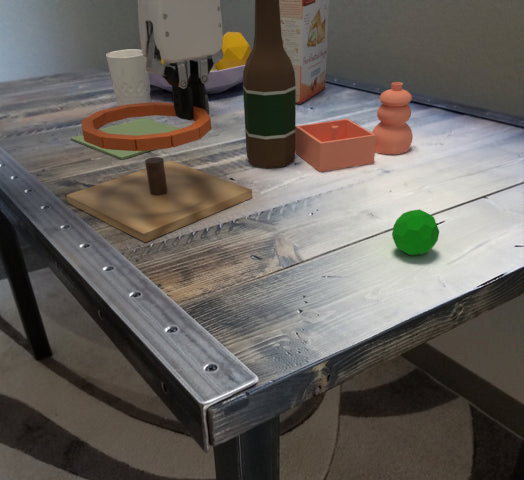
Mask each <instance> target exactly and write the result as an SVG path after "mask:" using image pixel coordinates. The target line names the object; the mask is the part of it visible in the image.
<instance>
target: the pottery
mask: <svg viewBox="0 0 524 480" xmlns="http://www.w3.org/2000/svg"><path fill="white" fill-rule="evenodd" d="M403 84H404V83H403V82H401V81H393V82H391V85H390V86H391V87H390V88H389V89H386V90H385V91H383V92H381V94H380V96H379V101H380V103H381V104H380V106H379V107H378V109H377V112H376V116H377V118H378V120H379V123H377V124H376V125H375V126H374V128H373V129H372V131H370V130H368V129H367V128H365V127H363V126H361V125H359V124H357V123H355V122H354V121H352V120H350V119H349V118H343V119H335V120H328V121H322V122H315V123H308V124H300V125H295V155H297V156H299V158H301V159H303V160H304V161H305V162H306V163H307V164H309V166H311V167H312V168H314V169H315V170H316V171H317V172H318V173H323V172H329V171H335V170H342V169H347V168H354V167H360V166H365V165H372V164H375V155H376V153H377V154H382V155H390V154H394V155H400V154H399V153H402V154H405V153H408V152H409V151H410V148H411V146H412V143H413V139H414V138H413V136H414V135H413V131H412V129H411V126H410V125H409V124H408V123H407V122H408V121H410V119H411V116H412V108H411V106H410V105H409V104H410V103H411V102H412V99H413V98H412V94H411V92H409V91H408V90H406V89H403ZM408 150H409V151H408ZM404 152H405V153H404Z"/></svg>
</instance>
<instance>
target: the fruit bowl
mask: <svg viewBox="0 0 524 480" xmlns="http://www.w3.org/2000/svg"><path fill="white" fill-rule="evenodd" d="M222 51H223V58H222V59H221V60H220V61H219V62H217V63H216V64H215V65H213V67H212V69H211V70H210V72H209V74H208V81H207V83H205V84H204V86H205V87H206V91H205V94H207V95H209V94H210V95H212V94H222V93H223V92H225V91H227V90H230V89H232V88H233V87H235V86H237V85H239V84H241V83H243V71H244V68H245V64H246V60H247V58H248V56H249V55H250V53H251V51H252V48H251V46H250V44H249V43H248V41H247V39H246V38H245V37H244V35H243V33H241V32H240V31H227V32H226V33H224V34H223V43H222ZM161 63H162V64H163V65H165V64H164V61H163V60H162V59H161ZM149 80H150V86H151V85H152V86H154V87H157V88H160V89H163V90H165V91H167V92H171V93H173V91H172V86H171V85H169V84H168V83H167V81H166V80H165V79H164V78H163V77H162V76H161V75H158V74H154V73H150V72H149Z"/></svg>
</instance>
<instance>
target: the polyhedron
mask: <svg viewBox="0 0 524 480" xmlns="http://www.w3.org/2000/svg"><path fill="white" fill-rule="evenodd" d="M391 236H392V240H393V242H394V244H395V247H396V248H397V249H399V250H400V251H402V252H404V253H405V254H407V255H409V256H410V257H412V256H419V255H420V256H421V255H423V254H427V253H429V252H430V250H432V249H433V248H434V246H435V245H436V244H437V243H438V240H439V236H440V229H439V227H438V224H437V221H436V219H435V217H434V216H433V215H431V214H429V213H428V212H426V211H424V210H422V209H420V208H419V209H411V210H408V211H406V212H402V214H401V215H400V216H399V217H397V219H396V221H395V222H394V224H393V227H392V231H391Z"/></svg>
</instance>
